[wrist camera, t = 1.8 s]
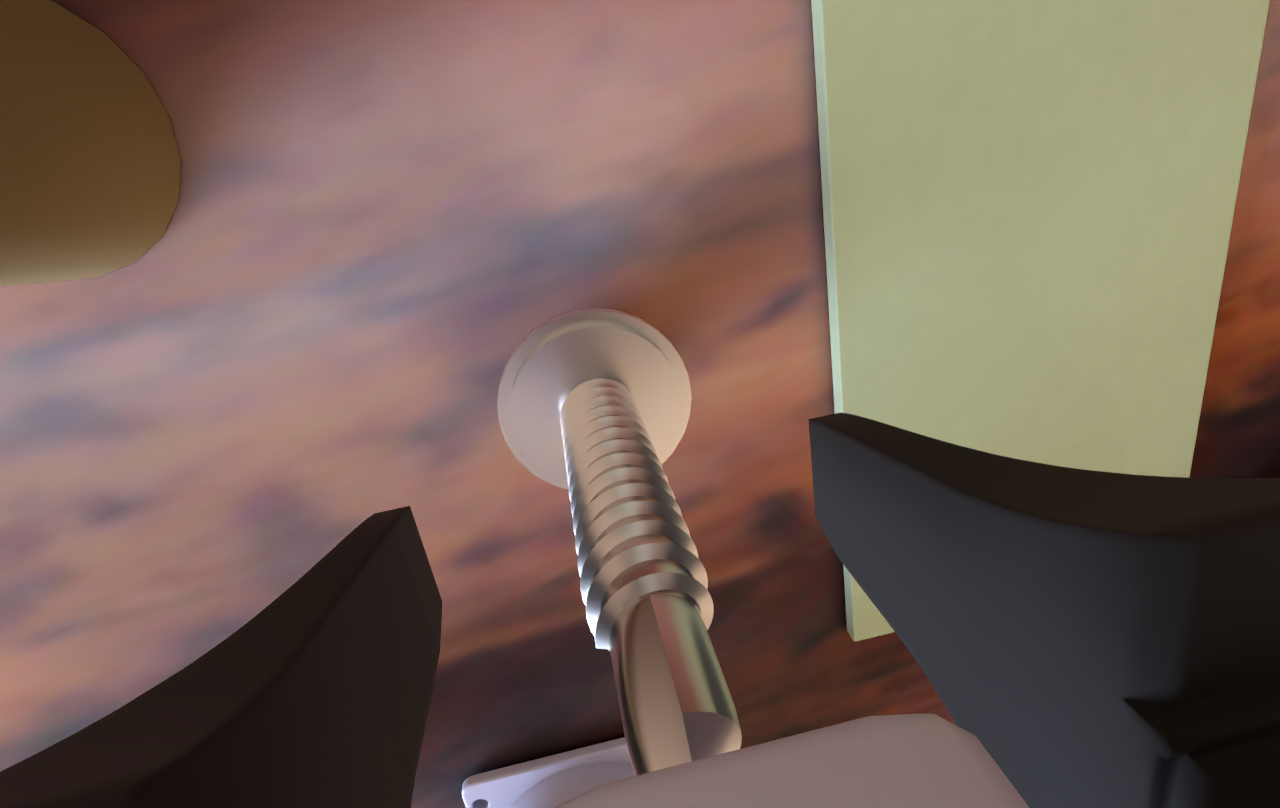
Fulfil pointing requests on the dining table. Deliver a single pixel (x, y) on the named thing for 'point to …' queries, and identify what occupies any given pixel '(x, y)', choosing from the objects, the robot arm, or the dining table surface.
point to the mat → (1030, 221)
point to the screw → (625, 519)
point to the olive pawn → (77, 150)
